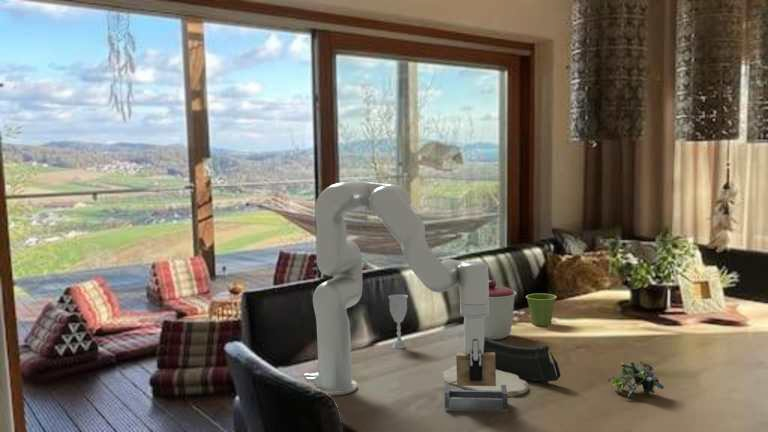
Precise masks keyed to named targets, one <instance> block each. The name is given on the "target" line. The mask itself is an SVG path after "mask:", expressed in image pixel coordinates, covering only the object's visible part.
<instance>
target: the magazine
mask: <svg viewBox="0 0 768 432" xmlns="http://www.w3.org/2000/svg"><path fill="white" fill-rule="evenodd" d="M484 352H490V353H495V367H496V370H499V371H503V372H507V373H512V374H515V375H517V376H519V379H521V380H524V381H532V382H543V383H544V385H546V386H547V385H549V384H550V382H557V381H558V380H559V378H561V371H560V368H559V364H558V361H557V360H556V359H555V357H554V355H553V353H552V351H550V348H549V346H548V345H545V346H542V347H540V346H538V347H529V346H527V347H525V346H517V345H511V344H507V343H504V342H501V341H500V342H499V341H496V340H491V339H488V338H486V337H485V340H484Z"/></svg>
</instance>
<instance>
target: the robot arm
mask: <svg viewBox="0 0 768 432" xmlns="http://www.w3.org/2000/svg"><path fill="white" fill-rule="evenodd" d="M410 204H411V198H410V195H409V192H408V190H407V189H406V188H405V187H403V186H402V185H399V184H393V183H392V184H390V183H389V184H388V183H381V182H380V183H379V182H370V181H341V182H337V183H334V184H331V185H330V186H328V187H326V188H325V189H323V191H321V192H320V194H319V196H318V197H317V199H316V202H315V223H316V226H315V227H316V235H315V237H316V238H315V239H316V240H315V241H316V264H317V268H318V270H319V271H320V272H321V274H323V275H325V276H328V277H329V276H333V277H332V278H331V279H328V280H326V281H324V282H323V281H322V283H320V284H319V285H317V287H316V288H315V289H314V292H313V295H312V305H313V309H314V314H315V319H316V320H315V321H316V337H317V339H316V340H317V343H316V344H317V367H318V368H317V369H318V372H315V373H304V376H303V379H304V381H306V383H314V384H313V388H314V387H315V388H317V389H320V390H322V391H324V392H326V393H328V394H329V395H328V396H340V395H341V396H342V395H347V394H350V393H353V392H355V391H356V390H357V388H358V383H357V381H355V380H354V379H352V373H353V372H352V348H351V346H352V344H351V343H352V342H351V339H352V338H351V324H350V319H349V317H348V313H347V309H348V308H351V307H353V306H355V305H357V304H358V302H359V301H360V299H361V298H362V293H363V257H362V252H361V249H360V247H359V246H358V244H356V242H354V241H353V240H351V239H348V238H347V224H346V220H345V218H344V215H345V214H346V213H351V212H359V211H360V212H361V211H367V212H373V213H374V215H375V216H376V217H377V218H378V219H379V221H380V222H381V223H382V224H383V225H384V226H385V228H387V230H388V231H389V233H391V235H392V236H393V238H395V240H396V242H397V243H398V244H399V245H400V249H401V251H402V254H403V257H404V259H405V261H406V263H407V265H408V266H409V268H410V269H411V270H412V272H413V273H414V275H415V276H416V277H417V278H418V279H419V281H420V282H421V283H422V284H423V285H424V286H425V287H426V288H427V289H428V290H430V291H431V292H434V293H438V294H439V293H444V292H446V291H448V290H450V289H452V288H455V287H459V315H460V316H461V317H463V345H464V352H465V355H467V354H470V364H471V365H470V381H482V365H481V355H483V353H484V340H485V317H486V316H488V315H489V280H490V279H489V266H488V263H486V262H484V261H480V260H479V261H477V260H471V261H465V260H464V261H463V260H457V259H450V258H447V259H443V260H439V258H438V257H437V256H436V254H434V253H433V251H432V249H431V248H430V246H429V244H428V242H427V240H426V226H425V224H424V222H423V221H422V220H421V218H420V217H419V216H418V214H417V213H416V212H415V211H414V210H413V209H412V208H411V206H410ZM472 352H473V354H472ZM478 352H479V354H478ZM472 357H473V358H472ZM478 357H479V358H478ZM472 362H473V363H472Z"/></svg>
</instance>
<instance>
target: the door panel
mask: <svg viewBox="0 0 768 432" xmlns="http://www.w3.org/2000/svg"><path fill="white" fill-rule="evenodd" d="M472 354H473V352H472ZM478 354H479V352H478ZM455 357H456V359H455V360H456V365H457V386H456V387H458V386H496V367H495V353H490V352H484V353H483V355H481V365H482V381H470V365H471V364H470V354H467V355H465V351H464V352H462V351H461V352H460V351H459V352H458V351H457V352H456V354H455ZM472 358H473V357H472ZM478 358H479V357H478ZM472 363H473V362H472Z"/></svg>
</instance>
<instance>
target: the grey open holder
mask: <svg viewBox="0 0 768 432" xmlns="http://www.w3.org/2000/svg"><path fill="white" fill-rule="evenodd" d="M508 406H509V405H508V396H507V389H506V385H501V391H490V390H467V389H451V384H449V383H445V388H444V411H445V412H472V413H473V412H477V413H478V412H479V413H481V412H483V413H484V412H485V413H508V412H509V410H508V409H509V408H508Z"/></svg>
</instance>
